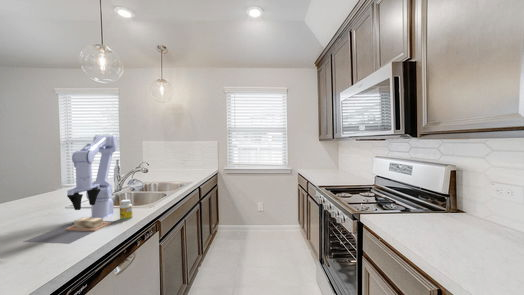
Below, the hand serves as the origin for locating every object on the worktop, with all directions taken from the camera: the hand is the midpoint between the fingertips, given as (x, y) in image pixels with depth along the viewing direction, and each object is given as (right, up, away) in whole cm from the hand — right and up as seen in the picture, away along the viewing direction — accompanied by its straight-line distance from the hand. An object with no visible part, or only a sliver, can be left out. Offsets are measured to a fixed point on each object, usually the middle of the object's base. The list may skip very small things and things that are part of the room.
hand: (85, 207), depth 103 cm
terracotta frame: (+2, -9, 0) cm, 9 cm away
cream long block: (+2, -9, 0) cm, 9 cm away
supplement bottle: (+12, -9, +11) cm, 19 cm away
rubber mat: (-1, -10, -4) cm, 10 cm away
